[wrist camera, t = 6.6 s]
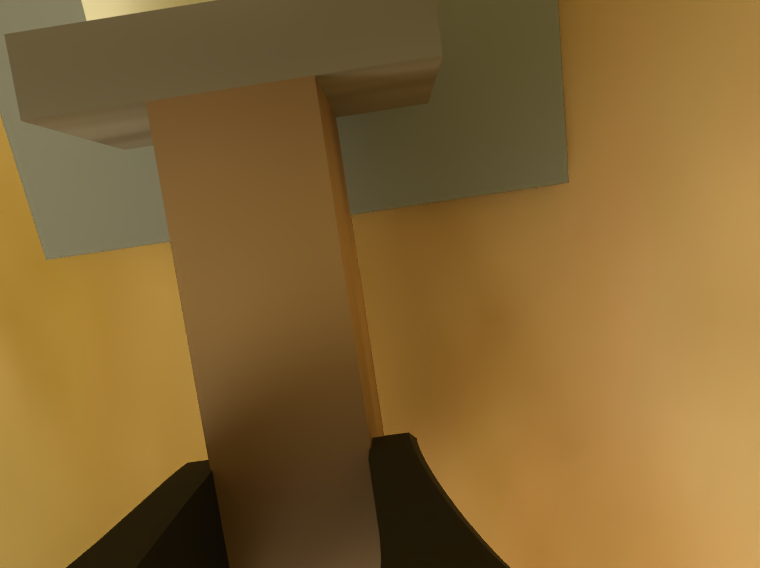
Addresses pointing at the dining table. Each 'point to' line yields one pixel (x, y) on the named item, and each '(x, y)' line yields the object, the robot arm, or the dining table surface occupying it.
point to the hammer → (256, 232)
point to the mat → (356, 132)
